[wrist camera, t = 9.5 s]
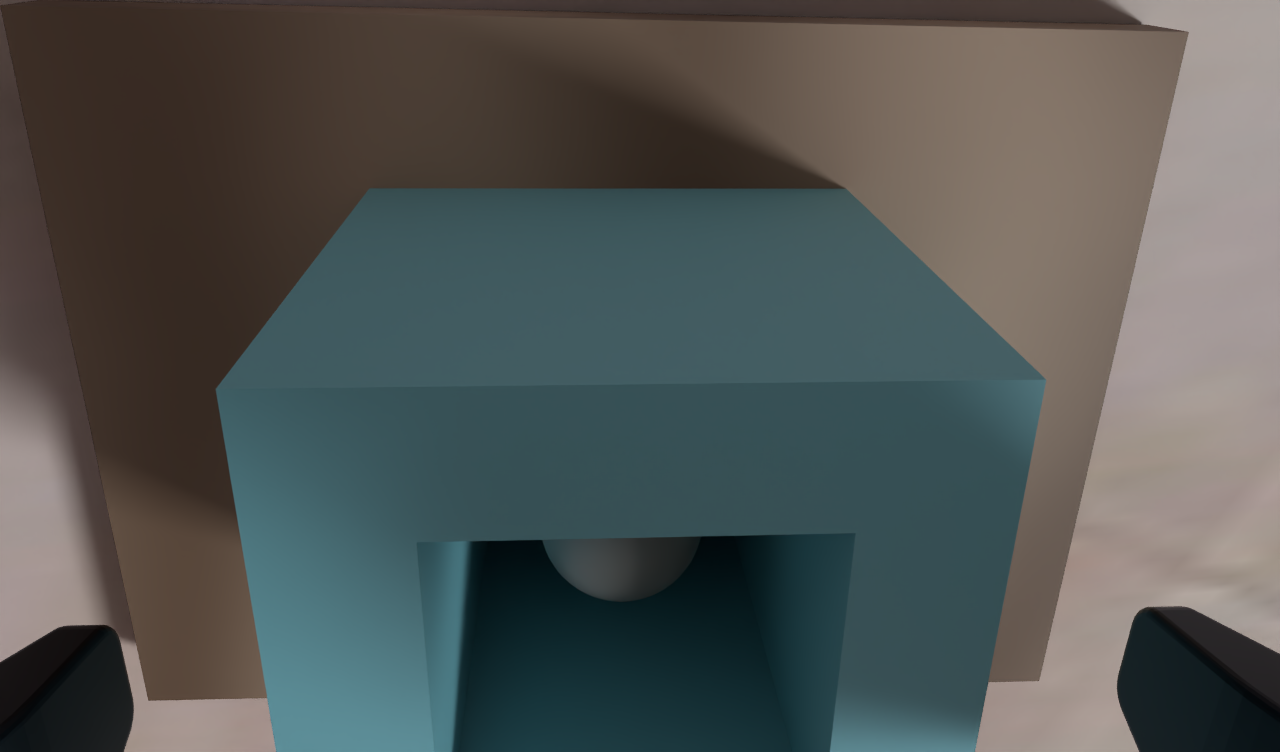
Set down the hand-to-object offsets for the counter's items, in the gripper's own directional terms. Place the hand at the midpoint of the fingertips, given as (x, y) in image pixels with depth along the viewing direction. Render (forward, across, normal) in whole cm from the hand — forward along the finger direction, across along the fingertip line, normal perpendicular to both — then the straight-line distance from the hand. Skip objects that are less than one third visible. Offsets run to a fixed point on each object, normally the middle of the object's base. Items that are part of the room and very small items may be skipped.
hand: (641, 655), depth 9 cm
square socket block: (+5, 0, 0) cm, 5 cm away
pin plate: (+6, 0, 0) cm, 6 cm away
